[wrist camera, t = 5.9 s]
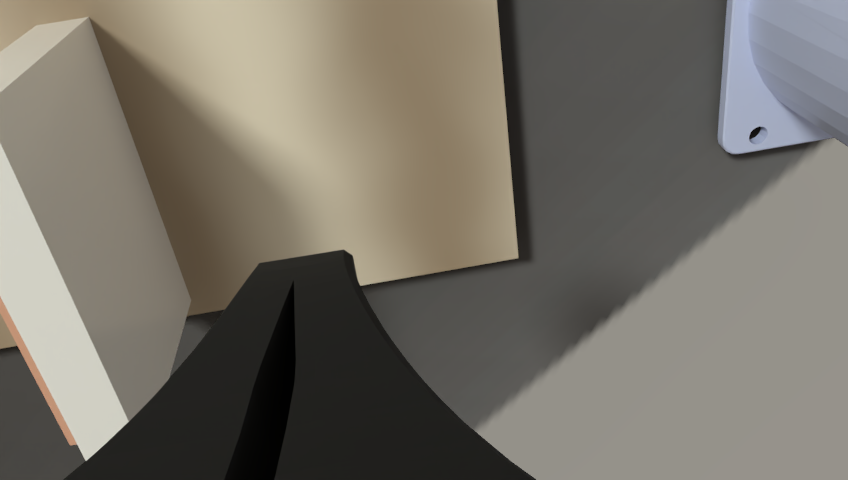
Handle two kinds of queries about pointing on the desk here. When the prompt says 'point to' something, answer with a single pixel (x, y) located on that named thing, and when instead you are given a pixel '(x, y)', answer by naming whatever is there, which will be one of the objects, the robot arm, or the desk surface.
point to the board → (308, 130)
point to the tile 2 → (81, 238)
